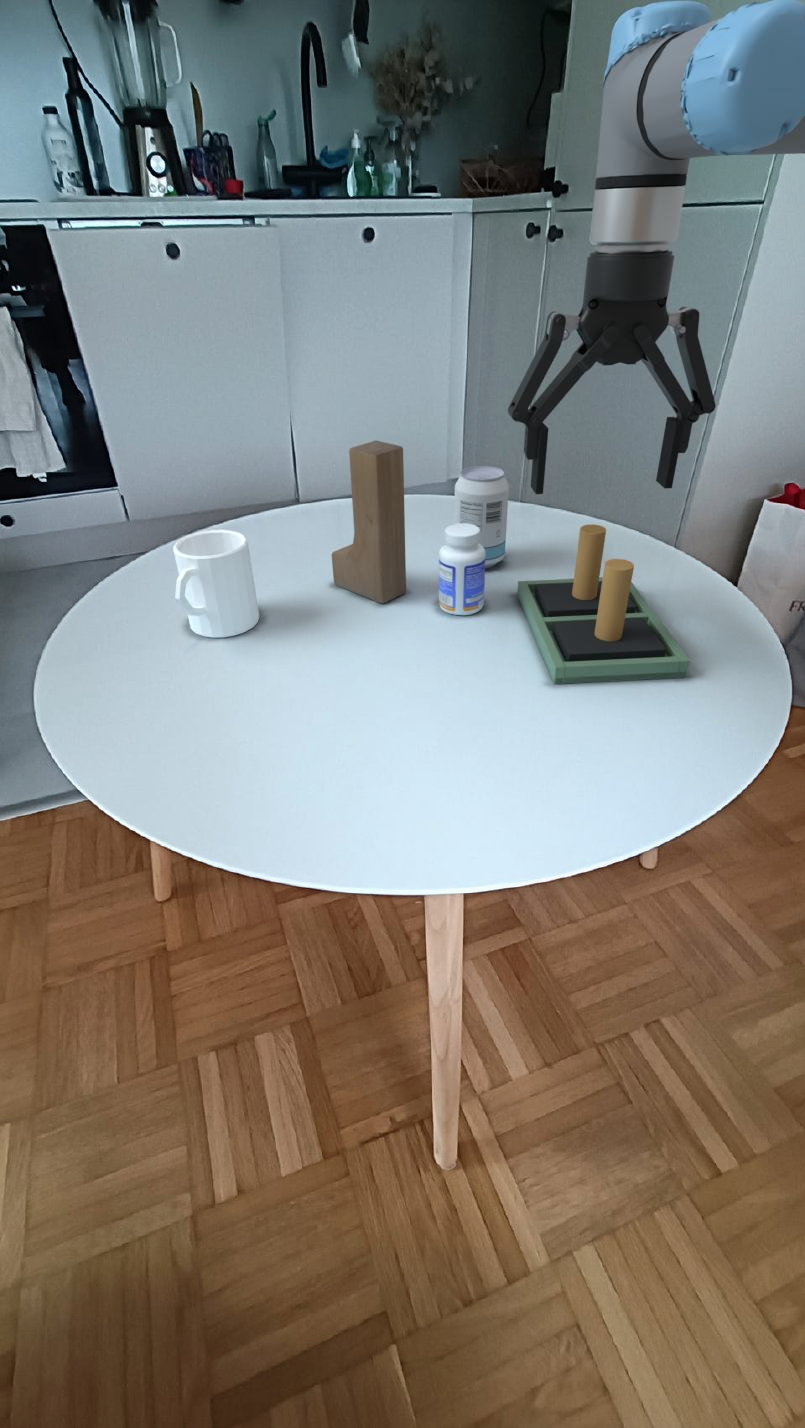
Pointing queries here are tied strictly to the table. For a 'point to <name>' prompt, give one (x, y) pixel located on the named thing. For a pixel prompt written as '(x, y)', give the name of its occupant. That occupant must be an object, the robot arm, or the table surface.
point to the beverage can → (484, 507)
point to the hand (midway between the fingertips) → (600, 487)
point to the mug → (216, 583)
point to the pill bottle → (461, 570)
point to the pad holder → (600, 670)
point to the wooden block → (375, 525)
